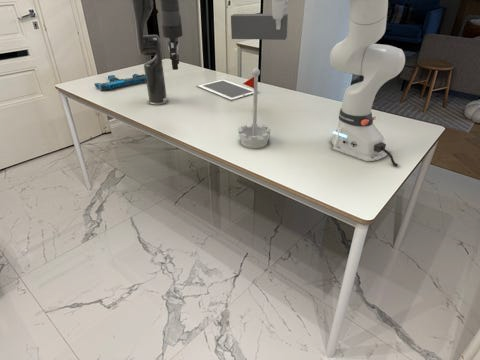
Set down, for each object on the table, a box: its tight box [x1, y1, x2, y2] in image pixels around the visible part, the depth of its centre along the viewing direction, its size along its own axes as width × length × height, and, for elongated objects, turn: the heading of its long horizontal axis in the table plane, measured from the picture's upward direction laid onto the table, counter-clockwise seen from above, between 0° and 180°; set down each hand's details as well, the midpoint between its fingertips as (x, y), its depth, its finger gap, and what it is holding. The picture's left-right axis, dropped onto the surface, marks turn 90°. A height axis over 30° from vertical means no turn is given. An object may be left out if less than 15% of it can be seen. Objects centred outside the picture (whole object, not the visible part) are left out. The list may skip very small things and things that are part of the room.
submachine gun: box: [94, 73, 146, 91], centre depth 208 cm, size 34×4×25 cm
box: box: [230, 13, 289, 41], centre depth 152 cm, size 24×6×10 cm, turn 77°
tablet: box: [197, 78, 259, 101], centre depth 197 cm, size 32×20×1 cm, turn 41°
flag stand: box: [238, 67, 272, 149], centre depth 132 cm, size 13×13×30 cm
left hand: (175, 66), depth 138 cm, fingers open, 8 cm apart
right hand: (279, 27), depth 150 cm, fingers closed on box, 6 cm apart
